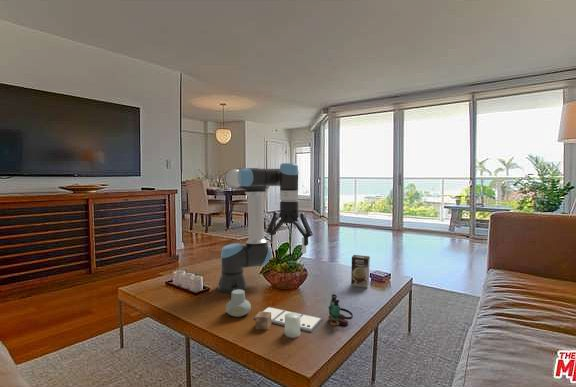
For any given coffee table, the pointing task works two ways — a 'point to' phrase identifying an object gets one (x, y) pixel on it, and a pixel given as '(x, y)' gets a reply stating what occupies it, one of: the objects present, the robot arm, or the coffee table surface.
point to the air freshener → (238, 304)
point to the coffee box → (360, 271)
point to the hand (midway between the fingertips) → (289, 251)
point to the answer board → (278, 315)
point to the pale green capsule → (292, 325)
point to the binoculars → (337, 312)
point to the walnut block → (263, 320)
